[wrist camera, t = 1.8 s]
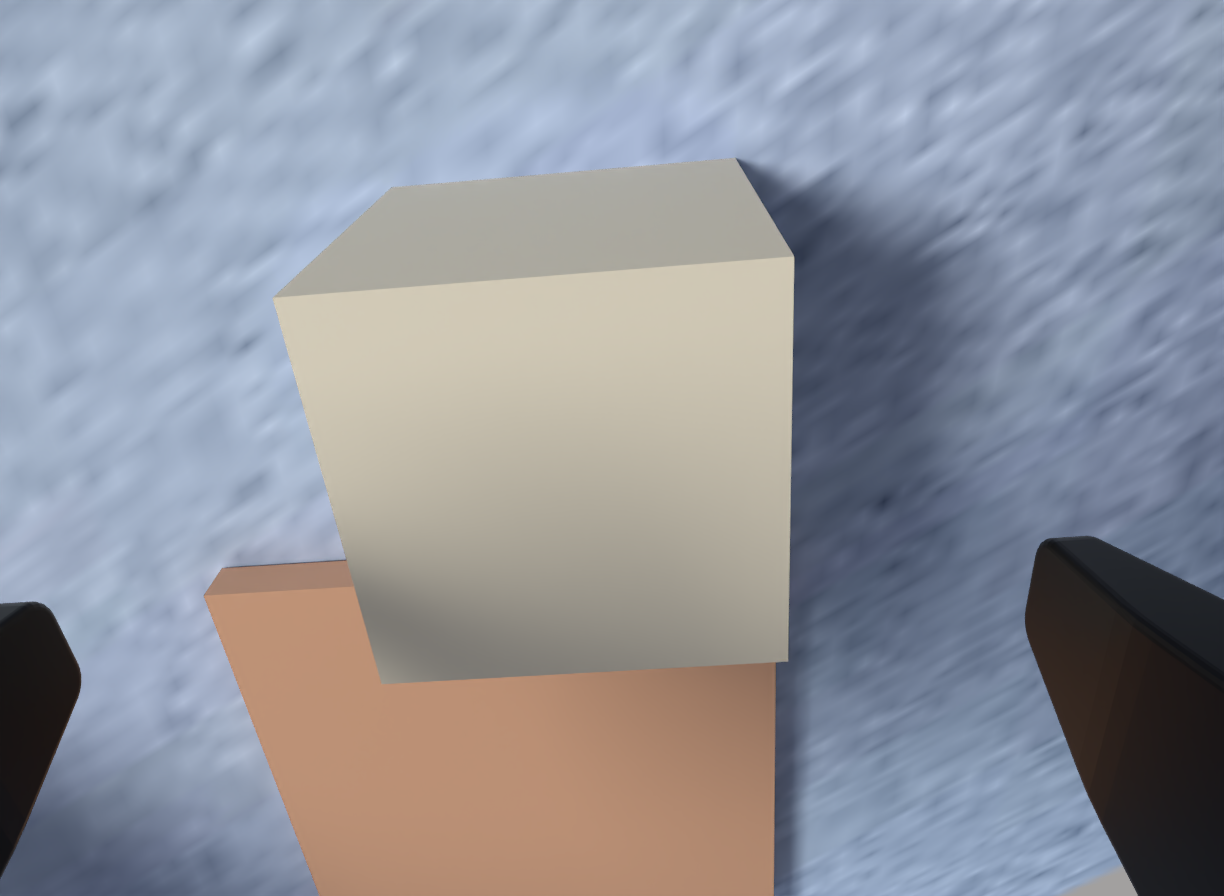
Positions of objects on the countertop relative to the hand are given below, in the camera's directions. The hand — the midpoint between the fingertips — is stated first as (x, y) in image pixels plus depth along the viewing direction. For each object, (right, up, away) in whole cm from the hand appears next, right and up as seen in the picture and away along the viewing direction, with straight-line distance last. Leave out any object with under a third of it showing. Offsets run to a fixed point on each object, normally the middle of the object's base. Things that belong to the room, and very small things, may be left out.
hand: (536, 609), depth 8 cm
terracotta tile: (-1, -5, +10) cm, 11 cm away
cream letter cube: (0, +3, +6) cm, 7 cm away
